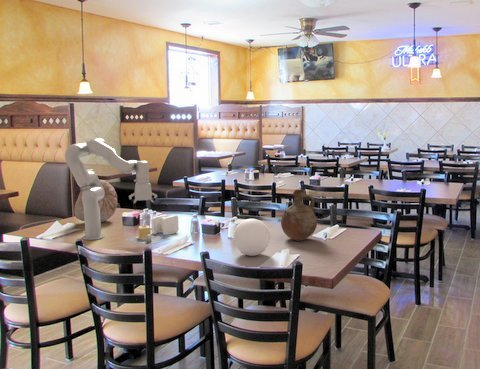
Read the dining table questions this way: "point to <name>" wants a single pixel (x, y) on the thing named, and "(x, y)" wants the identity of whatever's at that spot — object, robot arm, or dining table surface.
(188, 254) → the dining table surface
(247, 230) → the sphere
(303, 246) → the dining table surface
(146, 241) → the board
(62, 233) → the dining table surface
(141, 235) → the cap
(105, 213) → the fossil
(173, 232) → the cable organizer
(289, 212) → the jug
